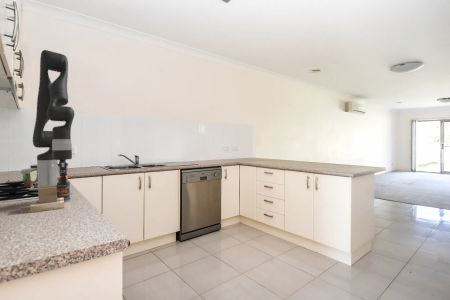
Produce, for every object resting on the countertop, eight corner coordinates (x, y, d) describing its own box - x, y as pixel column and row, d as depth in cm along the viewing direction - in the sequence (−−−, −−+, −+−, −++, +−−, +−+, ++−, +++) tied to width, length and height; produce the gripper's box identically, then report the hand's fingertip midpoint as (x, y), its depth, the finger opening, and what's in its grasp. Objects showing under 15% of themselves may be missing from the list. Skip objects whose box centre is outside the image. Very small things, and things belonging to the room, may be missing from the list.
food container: (26, 183, 155) (25, 168, 155) (37, 183, 158) (37, 167, 157) (17, 187, 144) (17, 170, 143) (30, 186, 146) (29, 170, 146)
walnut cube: (39, 200, 102) (39, 186, 101) (56, 198, 105) (56, 185, 105) (38, 203, 97) (38, 189, 96) (56, 201, 100) (56, 187, 100)
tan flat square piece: (32, 206, 102) (32, 200, 102) (63, 202, 108) (63, 197, 108) (30, 212, 94) (30, 205, 94) (64, 208, 100) (64, 201, 100)
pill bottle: (55, 202, 108) (54, 177, 108) (55, 200, 113) (54, 176, 113) (71, 200, 112) (70, 176, 111) (70, 198, 117) (69, 175, 116)
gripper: (72, 149, 108) (73, 185, 108) (70, 148, 120) (72, 181, 120) (52, 149, 104) (53, 187, 104) (52, 149, 115) (53, 182, 116)
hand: (63, 183), depth 112 cm, fingers open, 8 cm apart
